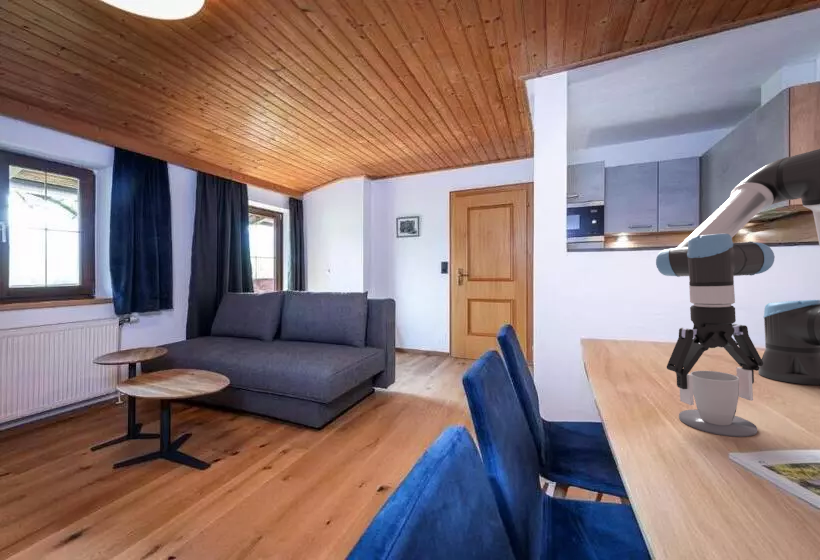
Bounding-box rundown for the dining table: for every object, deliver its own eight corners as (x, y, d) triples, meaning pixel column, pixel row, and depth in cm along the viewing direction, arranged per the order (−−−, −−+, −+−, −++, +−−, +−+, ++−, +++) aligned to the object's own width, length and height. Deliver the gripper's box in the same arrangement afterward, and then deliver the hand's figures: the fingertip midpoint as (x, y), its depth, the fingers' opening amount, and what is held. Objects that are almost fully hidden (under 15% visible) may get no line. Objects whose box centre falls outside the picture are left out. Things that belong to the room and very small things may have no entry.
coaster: (716, 410, 85) (716, 407, 85) (775, 434, 72) (775, 431, 72) (664, 413, 84) (664, 411, 84) (715, 438, 71) (715, 436, 71)
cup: (751, 429, 73) (749, 381, 73) (706, 427, 75) (704, 380, 75) (724, 413, 81) (722, 370, 81) (684, 412, 83) (682, 370, 83)
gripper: (747, 300, 82) (751, 390, 82) (645, 306, 81) (649, 398, 81) (783, 302, 75) (788, 402, 75) (671, 310, 73) (676, 411, 73)
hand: (716, 400), depth 78 cm, fingers open, 13 cm apart
